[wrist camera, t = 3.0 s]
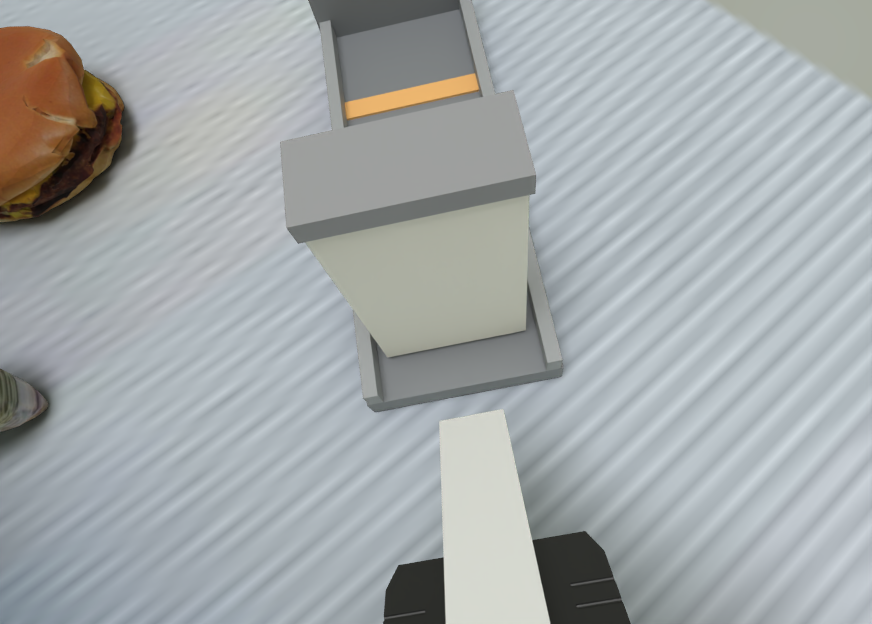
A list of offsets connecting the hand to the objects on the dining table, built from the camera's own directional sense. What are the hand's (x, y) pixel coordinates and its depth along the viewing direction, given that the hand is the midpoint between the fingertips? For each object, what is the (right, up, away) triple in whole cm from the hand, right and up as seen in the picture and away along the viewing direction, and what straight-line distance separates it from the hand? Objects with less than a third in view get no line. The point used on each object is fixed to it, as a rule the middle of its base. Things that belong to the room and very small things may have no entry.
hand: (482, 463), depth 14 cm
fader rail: (-1, +9, +11) cm, 14 cm away
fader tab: (0, +3, +8) cm, 8 cm away
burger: (-20, +11, +16) cm, 28 cm away
